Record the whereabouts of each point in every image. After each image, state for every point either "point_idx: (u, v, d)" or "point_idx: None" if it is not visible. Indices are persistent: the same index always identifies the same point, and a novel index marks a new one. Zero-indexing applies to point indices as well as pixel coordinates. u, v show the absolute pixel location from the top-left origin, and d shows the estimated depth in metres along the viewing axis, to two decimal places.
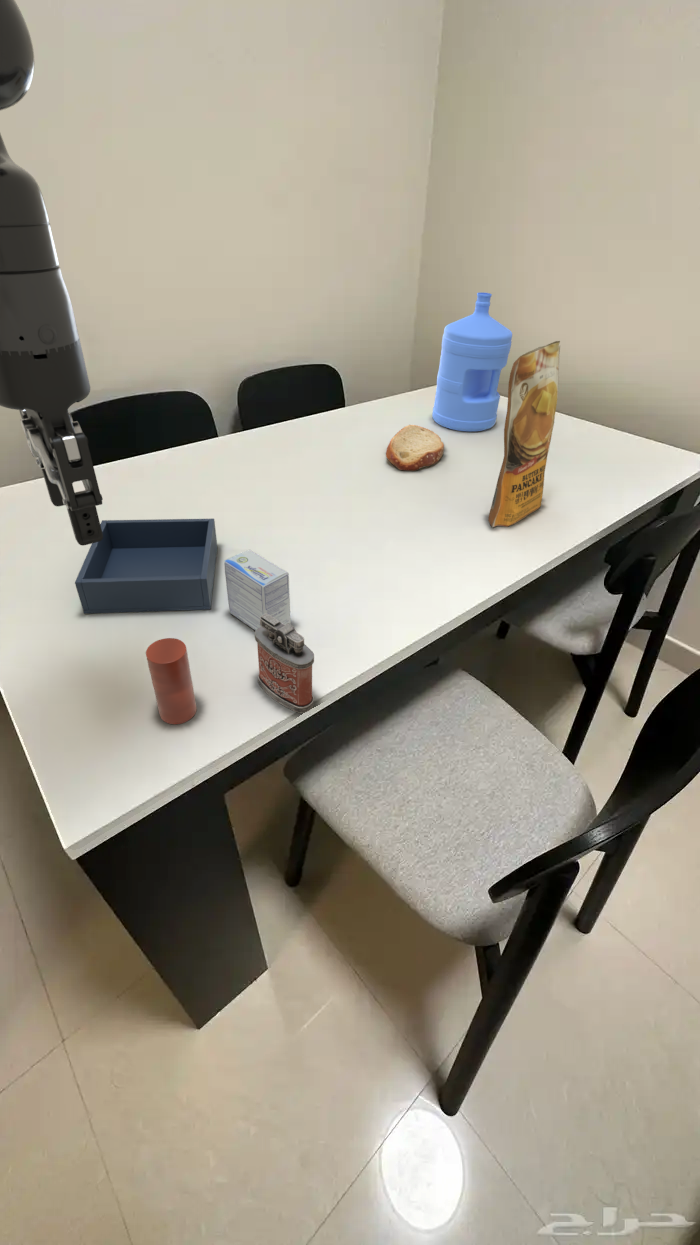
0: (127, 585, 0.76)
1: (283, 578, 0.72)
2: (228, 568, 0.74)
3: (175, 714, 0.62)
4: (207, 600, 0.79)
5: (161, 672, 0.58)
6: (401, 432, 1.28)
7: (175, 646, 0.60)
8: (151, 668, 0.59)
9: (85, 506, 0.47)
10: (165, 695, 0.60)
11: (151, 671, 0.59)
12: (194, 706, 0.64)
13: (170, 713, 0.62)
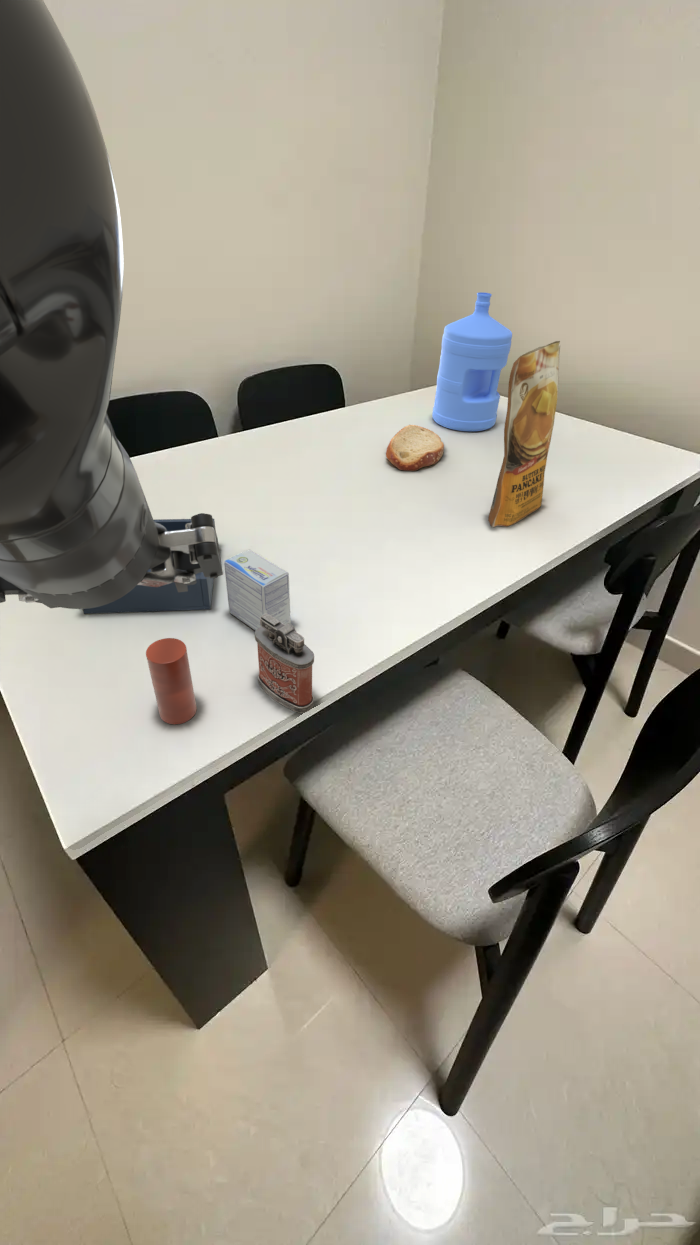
0: None
1: (283, 578, 0.72)
2: (228, 568, 0.74)
3: (175, 714, 0.62)
4: (207, 600, 0.79)
5: (161, 672, 0.58)
6: (401, 432, 1.28)
7: (175, 646, 0.60)
8: (151, 668, 0.59)
9: None
10: (165, 695, 0.60)
11: (151, 671, 0.59)
12: (194, 706, 0.64)
13: (170, 713, 0.62)
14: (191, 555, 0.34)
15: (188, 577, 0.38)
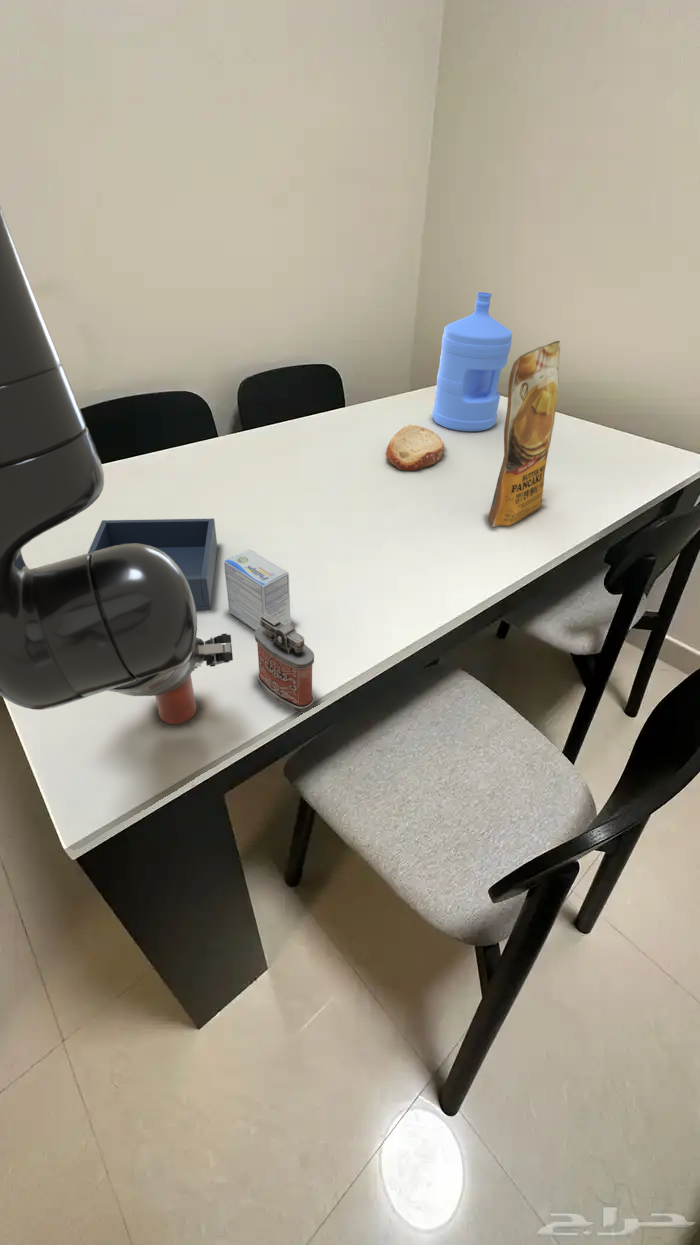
0: None
1: (283, 578, 0.72)
2: (228, 568, 0.74)
3: (175, 714, 0.62)
4: (207, 600, 0.79)
5: None
6: (401, 432, 1.28)
7: None
8: None
9: None
10: (165, 694, 0.60)
11: None
12: (194, 706, 0.64)
13: (169, 713, 0.62)
14: (214, 657, 0.55)
15: (196, 666, 0.58)
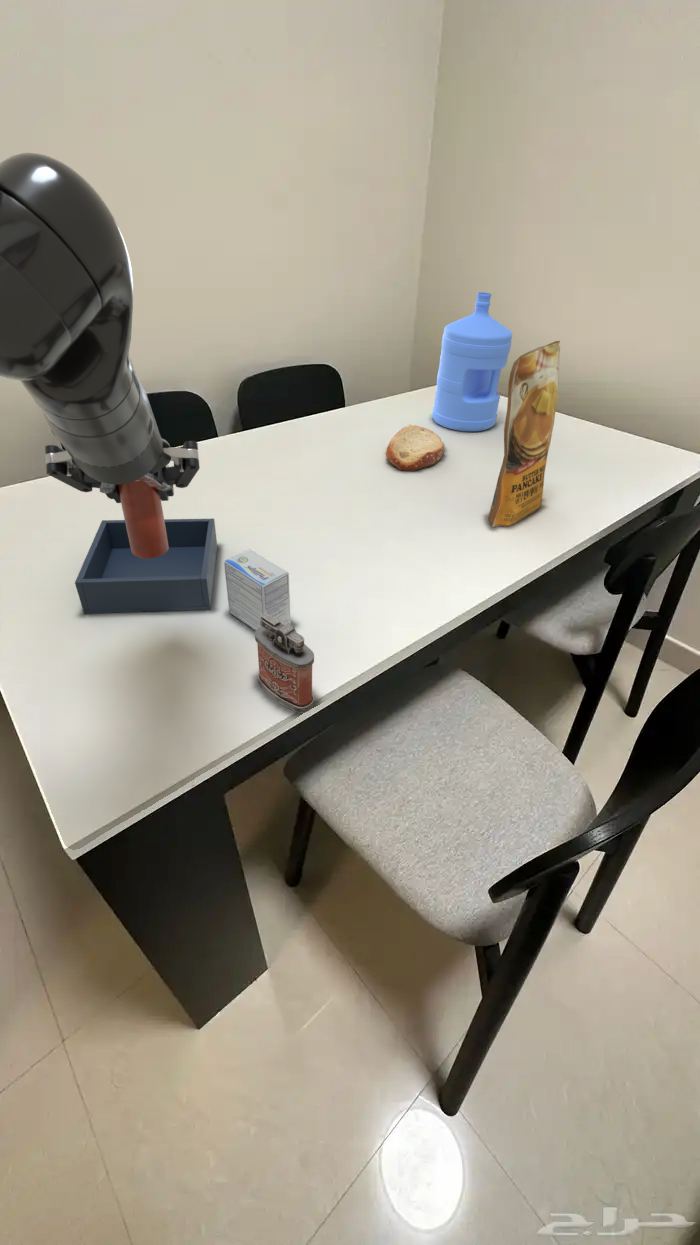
0: (127, 585, 0.76)
1: (283, 578, 0.72)
2: (228, 568, 0.74)
3: (146, 546, 0.62)
4: (207, 600, 0.79)
5: (130, 492, 0.58)
6: (401, 432, 1.28)
7: None
8: (120, 489, 0.59)
9: None
10: (135, 521, 0.60)
11: (120, 493, 0.59)
12: (166, 542, 0.64)
13: (140, 544, 0.62)
14: (180, 465, 0.55)
15: (165, 486, 0.58)
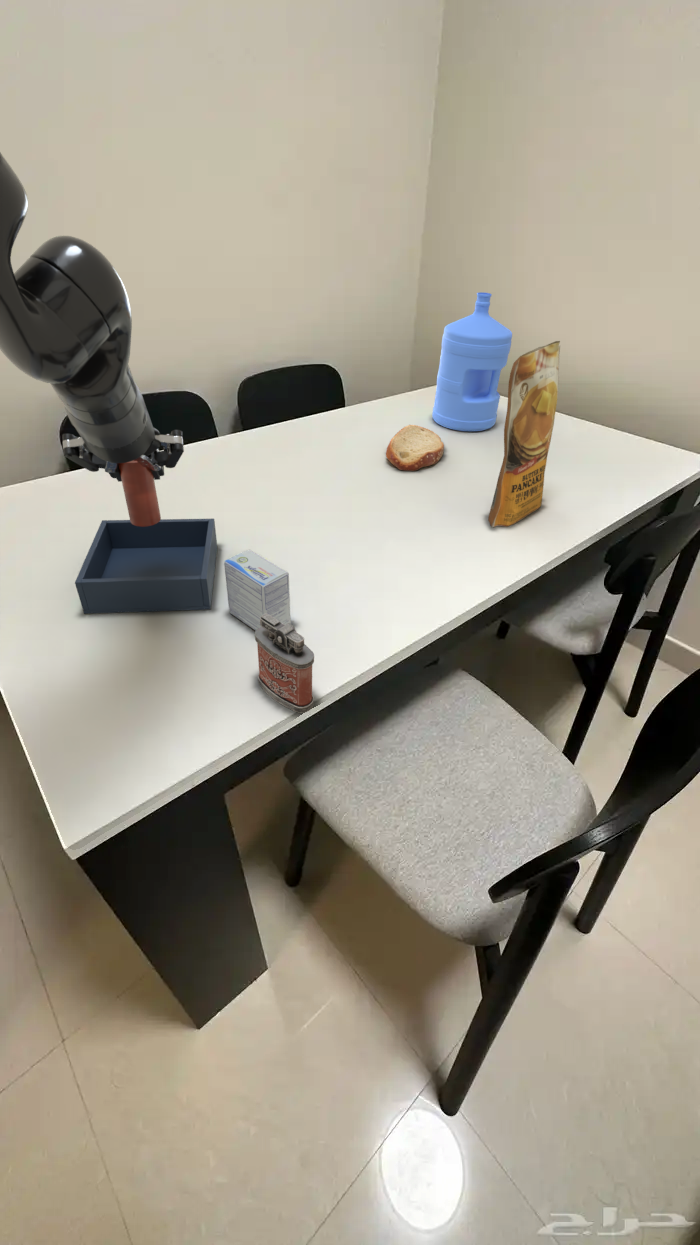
0: (127, 585, 0.76)
1: (283, 578, 0.72)
2: (228, 568, 0.74)
3: (142, 516, 0.77)
4: (207, 600, 0.79)
5: (129, 471, 0.73)
6: (401, 432, 1.28)
7: None
8: (121, 469, 0.73)
9: None
10: (133, 495, 0.75)
11: (121, 473, 0.74)
12: (158, 514, 0.78)
13: (137, 514, 0.77)
14: (168, 449, 0.69)
15: (156, 466, 0.73)
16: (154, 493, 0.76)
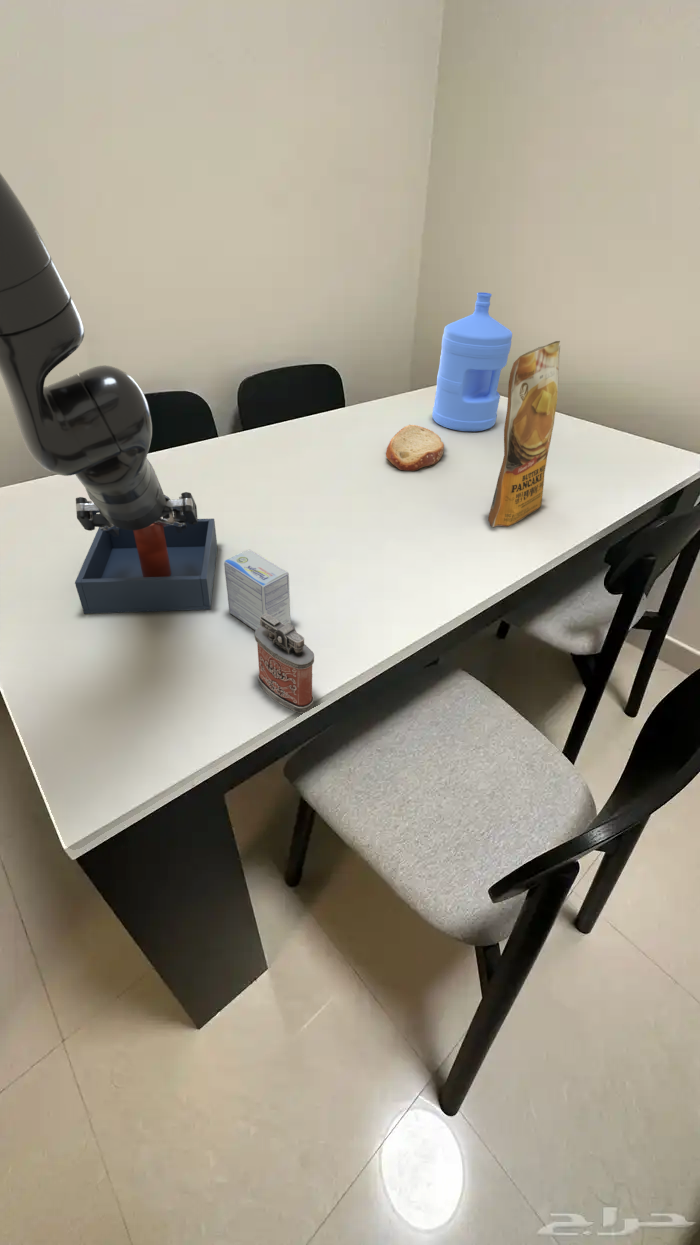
0: (127, 585, 0.76)
1: (283, 578, 0.72)
2: (228, 568, 0.74)
3: (154, 573, 0.82)
4: (207, 600, 0.79)
5: (142, 533, 0.78)
6: (401, 432, 1.28)
7: None
8: (135, 531, 0.79)
9: None
10: (146, 554, 0.80)
11: (135, 534, 0.79)
12: (169, 569, 0.84)
13: (150, 571, 0.82)
14: (180, 511, 0.74)
15: (180, 523, 0.77)
16: (165, 551, 0.82)
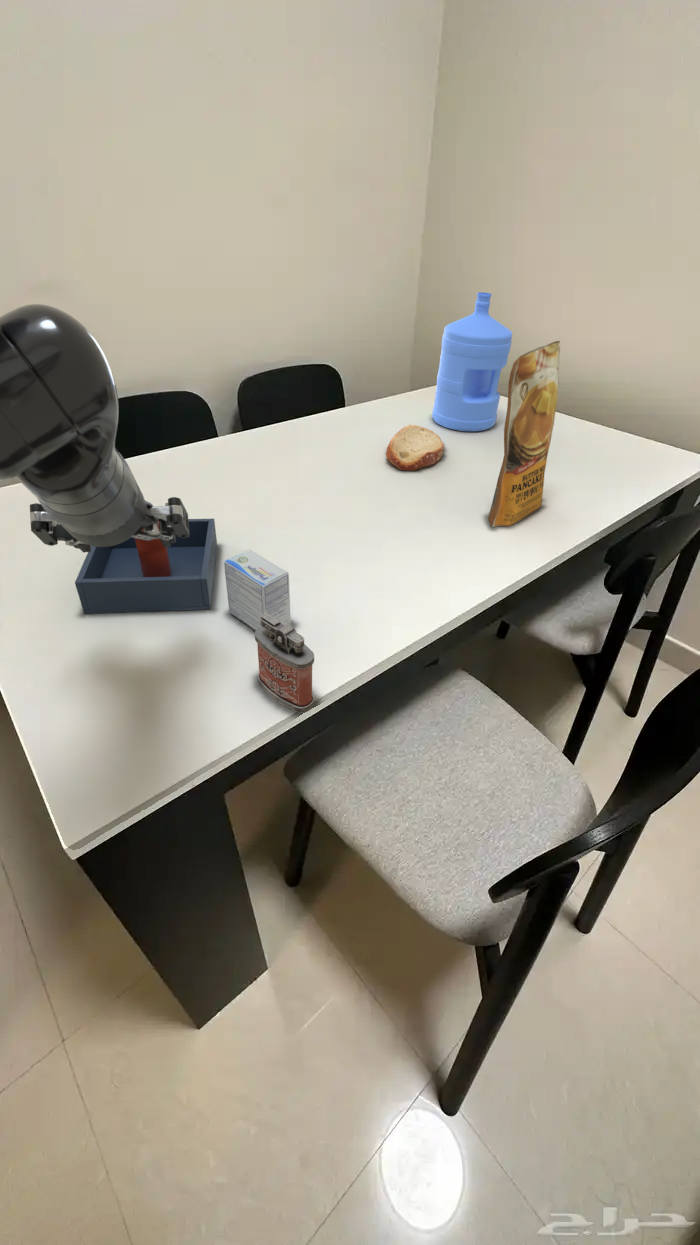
0: (127, 585, 0.76)
1: (283, 578, 0.72)
2: (228, 568, 0.74)
3: (154, 573, 0.82)
4: (207, 600, 0.79)
5: None
6: (401, 432, 1.28)
7: None
8: None
9: None
10: (146, 554, 0.80)
11: None
12: (169, 569, 0.84)
13: (150, 571, 0.82)
14: (167, 521, 0.57)
15: (168, 536, 0.61)
16: (165, 551, 0.82)
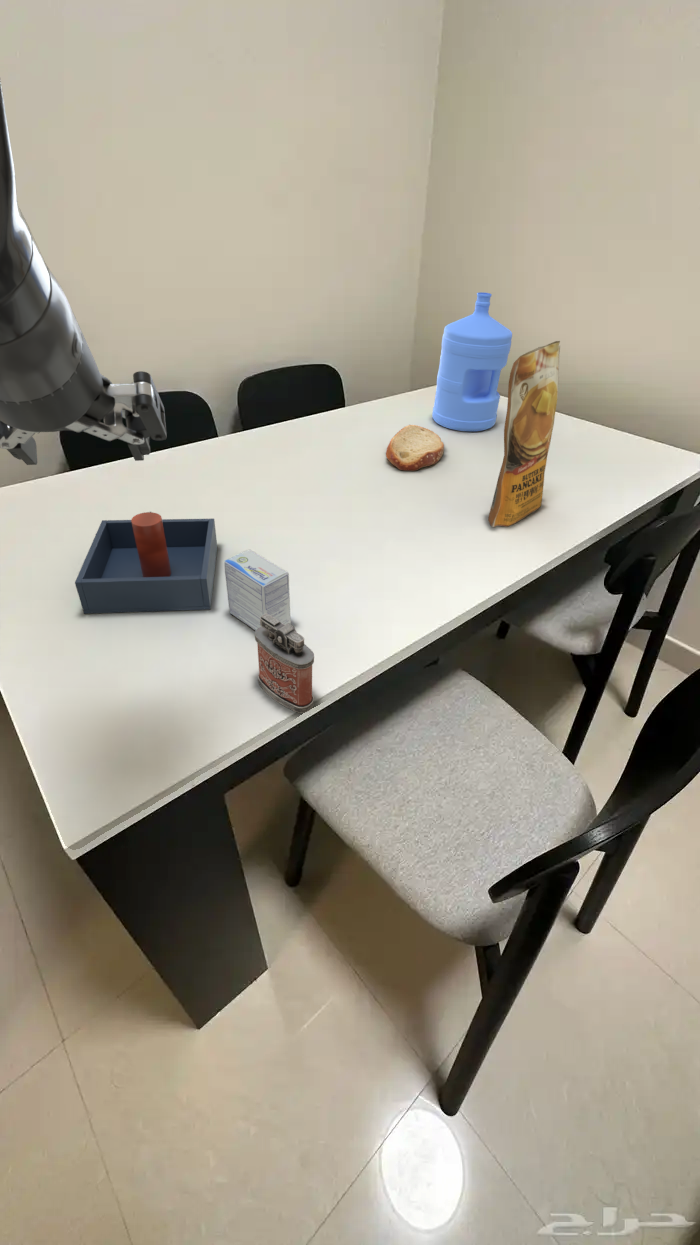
0: (127, 585, 0.76)
1: (283, 578, 0.72)
2: (228, 568, 0.74)
3: (154, 573, 0.82)
4: (207, 600, 0.79)
5: (142, 533, 0.78)
6: (401, 432, 1.28)
7: (153, 517, 0.80)
8: (135, 531, 0.79)
9: None
10: (146, 554, 0.80)
11: (135, 534, 0.79)
12: (169, 569, 0.84)
13: (150, 571, 0.82)
14: (133, 408, 0.41)
15: (137, 437, 0.45)
16: (165, 551, 0.82)
